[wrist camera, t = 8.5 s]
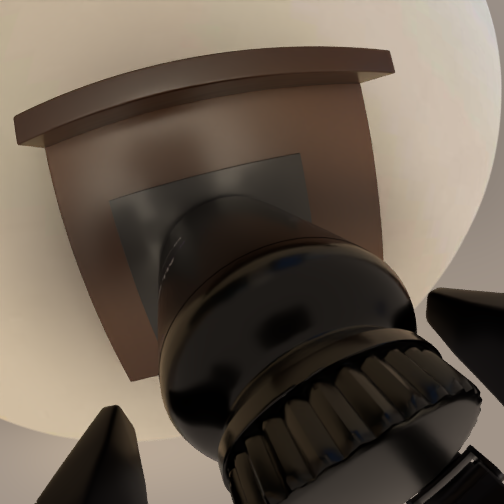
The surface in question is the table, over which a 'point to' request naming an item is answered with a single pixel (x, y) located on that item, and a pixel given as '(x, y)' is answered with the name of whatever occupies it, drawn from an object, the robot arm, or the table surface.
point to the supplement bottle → (301, 362)
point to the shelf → (203, 163)
